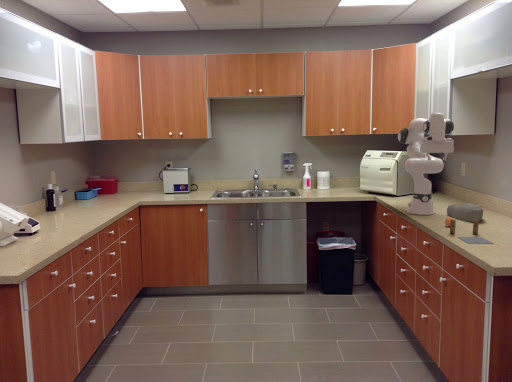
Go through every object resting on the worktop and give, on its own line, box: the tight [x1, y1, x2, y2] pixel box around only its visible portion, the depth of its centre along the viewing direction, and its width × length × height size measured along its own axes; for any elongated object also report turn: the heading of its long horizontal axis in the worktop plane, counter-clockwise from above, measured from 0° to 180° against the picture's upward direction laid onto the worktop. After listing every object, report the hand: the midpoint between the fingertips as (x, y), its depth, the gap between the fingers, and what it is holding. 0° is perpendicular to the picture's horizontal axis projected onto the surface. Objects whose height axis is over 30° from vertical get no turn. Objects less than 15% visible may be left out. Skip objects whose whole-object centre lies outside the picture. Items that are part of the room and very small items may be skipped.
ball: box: [444, 216, 455, 228], centre depth 265 cm, size 6×6×6 cm
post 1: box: [449, 219, 457, 236], centre depth 246 cm, size 3×3×8 cm
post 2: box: [472, 220, 480, 236], centre depth 245 cm, size 3×3×8 cm
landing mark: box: [457, 236, 494, 245], centre depth 232 cm, size 13×13×1 cm
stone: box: [446, 202, 484, 223], centre depth 288 cm, size 28×10×20 cm
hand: (436, 160), depth 279 cm, fingers open, 8 cm apart
